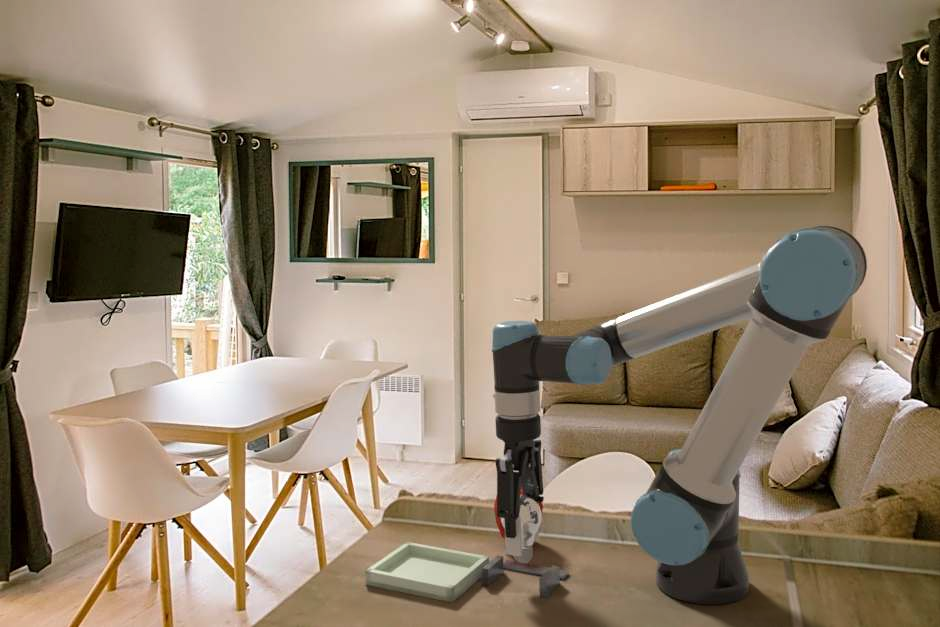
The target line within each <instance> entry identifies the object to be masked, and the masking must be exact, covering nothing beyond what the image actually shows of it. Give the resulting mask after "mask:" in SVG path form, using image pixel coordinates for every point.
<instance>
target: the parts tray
mask: <svg viewBox="0 0 940 627" xmlns="http://www.w3.org/2000/svg"><path fill="white" fill-rule="evenodd" d="M489 562H490V556H487V555H484V554H483V555H482V554H477V553H472V552H471V553H470V552H466V551H461V550H456V549H455V550H454V549H449V548H443V547H438V546H432V545H427V544H421V543H416V542H410V541H407V542H405V543H403V544H402V545H401V546H399V547H398V548H396V549H395V550H393V551H391V552H390V553H389V554H387V555H386V556H385V557H383V558H381V559H380V560H378V561H377V562H375V563H374V564H372V565H371V566H369V567H368V568H367V569H365V570H364V576H365V585H366V586H367V585H368V586H372V587H377V588H381V589H385V590H391V591H393V592H394V591H395V592H399V593H404V594H408V595H409V594H410V595H414V596H419V597H423V598H429V599H431V600H432V599H433V600H438V601H443V602H447V603H452V604H453V603H454V601H456V600H457V599H458V598H459V597H460V596H461V595H463V594H464V593H466V592H467V591H468V589H469V588H471V587H472V586H473V585H474V584H475V583H476V582H477V581H478V580H480V579H481V578H482V568H483V567H484V566H485V565H486V564H488V563H489Z"/></svg>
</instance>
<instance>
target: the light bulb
mask: <svg viewBox="0 0 940 627" xmlns="http://www.w3.org/2000/svg"><path fill="white" fill-rule="evenodd" d="M518 517H521V533H522V556H514V555H512V557H513V558H514V560H515V561H516V562H519V563H520V564H522V565H524V564H529V562H531V560H532V558H533V557H534V551H533V550H534V549H533V545H534V542H535V541H534V536H535V534H536V532H537V530H538V528H539V529H540V526H541V524H542V518H543V512H542V513H541V509H540V507H539V505H538V503H537V502H536V501H535V500H534V499H532V498H531V497H529V496H526V495H520V502H519V512H518ZM501 522H502V525H503V527H504V529H505V525H504V518H501Z"/></svg>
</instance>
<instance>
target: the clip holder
mask: <svg viewBox="0 0 940 627" xmlns="http://www.w3.org/2000/svg"><path fill="white" fill-rule="evenodd" d="M560 568H561V567H560V566H558V565H552V566H551V567H547V566H543V565H537V564H533V563H527V564H524V565H522V564H520V563H519V562H518V561H516V560H515V561H514V560H510V559H505V560H504V556H503V555H496V556H495V557H494V558H492V559H491V560H489V563H488V564H486V565H485V566H484V567H483V568H482V577H481V578H482V579H481V580H482V586H484V587H485V586H486V587H489V586H490V585H492V584H493V583H494V582H495V581H497V579H499V577H500V576H502V575H503V574H504V572H505V570H509V571H515V572H521V573H526V574H529V575H530V574H532V575H535V576H541V577H540V578H539V579H538V580H539V586H538V587H539V597H542V598H548V597H549V595H550V594H551V593H552V592H553V591H554V590H555V589H556V588H557V587H558V586H559V585H560V583H561V581H560V580H565V579H566V578H567V577H568V576H569V575H570V574H569V572H570V571H569V570H566V569H565V570H564V569H560Z"/></svg>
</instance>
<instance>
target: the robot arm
mask: <svg viewBox="0 0 940 627" xmlns="http://www.w3.org/2000/svg"><path fill="white" fill-rule="evenodd" d="M867 269H868V260H867V255H866V252H865V249H864V248H863V246H862V244H861V243H860V241H859V240H858V238H856V237H855V236H854V235H852V234H851V233H850V232H849V231H846V230H844V229H842V228H839V227H836V226H831V225H823V226H822V225H820V226H814V227H806V228H800V229H797V230H794V231H792V232H789V233H787V234H785V235H784V236H782V237H781V238H780V239H778V240H776V242H775V244H773V245H772V246H770V248H769V249H768V250H767V252H766V253H763V256H762V257H761V259H760V261H759V263H755V264H753V265H749V266H747V267H745V268H743V269H740V270H737V271H735V272H732V273H729V274H727V275H724V276H722V277H719V278H716V279H714V280H711V281H709V282H706V283H703V284H701V285H698V286H695V287H693V288H691V289H687V290H685V291H682V292H679V293H678V294H675V295H672V296H670V297H667V298H665V299H662V300H659V301H656V302H654V303H651V304H649V305H646V306H644V307H642V308H639V309H635V310H633V311H630V312H628V313H625V314H623V315H620V316H619V317H618V316H617V317H616V318H612V319H609V320H607V321H603V322H601V323H598V324H596V325H593V326H591V327H589V328H587V329H584V330H581V331H578V332H576V333H572V334H569V335H545V334H544V335H543V334H539V331H538V325H537V324H536V323H535V322H534V321H528V320H511V321H503V322H499V323H497V324H496V325H494V327H493V329H492V348H491V353H492V361H493V362H492V363H493V365H492V366H493V378H494V380H493V381H494V384H493V385H494V393H493V394H492V397H493V398H494V406H495V413H496V414H497V415H496V416H495V435H496V437H497V438H498V439H499V440H501V441H503V442H504V447H503V456H502V458H500V457H499V458H498V457H497V458H496V459H495V468H496V496H497V517H500V518H504V525H505V539H504V541H505V542H504V544H505V545H504V546H505V555H509V556H513V555H514V556H522V533H521V517H518V512H519V502H520V492H521V485H522V490H523V495H526V496H529V497H531V498H532V499H534V500H535V501H536V502H542V503H543V502H544V501H545V500H544V499H545V497H544V496H543V494H544V478H543V467H542V465H543V464H542V454H541V453H542V440H540V439H539V438H540V437H541V434H542V428H541V427H542V424H541V420H542V419H541V415H540V414H539V412H541V394H540V382H548V383H560V384H561V383H563V384H573V385H580V386H586V385H601V384H603V383H604V382H606V380H607V378H608V376H609V374H610V372H611V369H612V367H615V366H618V365H621V364H623V363H626V362H629V361H631V360H634V359H637V358H639V357H642V356H645V355H648V354H650V353H651V354H652V353H653V352H657V351H659V350H662V349H665V348H667V347H671V346H674V345H677V344H679V343H680V344H681V343H682V342H686V341H687V340H692V339H695V338H697V337H700V336H702V335H706V334H709V333H711V332H715V331H716V330H720V329H722V328H725V327H728V326H731V325H734V324H737V323H739V322H742V321H745V320H749V319H750V320H749V321H748V324H747V325H746V327H745V330H744V331H743V333H742V334H741V336H740V339H739V341H738V342H737V344H736V346H735V348H734V349H733V352H732V353H731V355H730V357H729V359H728V361H727V363H726V365H725V367H724V368H723V369H722V370H723V371H722V372H721V374H720V376H719V378H718V380H717V381H716V383H715V386H714V387H713V389H712V391H711V393H710V395H709V397H708V398H707V400H706V402H705V404H704V407H703V408H702V410H701V412H700V413H699V415H698V417H697V419H696V421H695V423H694V425H693V426H692V429H691V430H690V432H689V433H688V436H687V438H686V440H685V442H684V444H683V445H682V447H681V448H678V449H673V450H671V451H669V452H668V454H667V456H665V458H664V459H663V461H662V463H661V465H660V467H659V469H658V470H657V473H656V475H655V476H654V478H653V480H652V481H651V484H650V486H649V488H648V489H647V491H646V492H645V493H644V494H642V495H641V496H640V497H639V498H638V499H637V500H636V502H635V504H634V506H633V509H632V511H631V514H630V528H631V531H632V533H633V536H634V539H635V542H637V545H639V547H640V548H641V550H643V552H645V553H646V554H647V555H648V556H649V557H650V558H652V559H654V560H655V561H658V563H657V565H656V570H655V572H656V573H655V578H656V579H655V580H656V581H655V582H656V586H657V587H658V589H659V590H660V591H662V592H663V593H664V594H665V595H666V596H667V595H668V596H669V597H671V598H673V599H677V600H680V601H683V602H687V603H692V604H698V605H723V604H731V603H734V602H737V601H739V600H742V599H743V598H745V597H746V596H747V595H748V594H749V590H750V576H749V575H750V574H749V571H748V568H747V565H746V562H745V560H744V559H745V558H744V557H743V553H742V551H741V550H742V549H741V548H740V547H741V546H740V543H739V542H740V541H739V534H740V533H739V530H740V528H739V527H740V526H739V525H740V479H741V476H742V475H741V472H740V469H741V467H742V465H743V463H744V461H745V460H746V458H747V456H748V454H749V453H750V451H751V449H752V448H753V445H754V444H755V442H756V440H757V438H758V437H759V435H760V434H761V432H762V430H763V428H764V426H765V424H766V423H767V421H768V419H769V418H770V415H771V414H772V412H773V410H774V409H775V406H776V405H777V403H778V401H779V399H780V398H781V396H782V395H783V392H784V391H785V389H786V388H787V386H788V384H789V383H790V381H791V379H792V377H793V376H794V373H795V371H796V369H797V368H798V366H799V364H800V363H801V361H802V359H803V357H804V355H805V353H806V352H807V350H808V349H809V347H810V346H811V345H815V344H818V343H820V342H824V341H826V340H827V338H828V337H829V335H830V334H831V331H832V330H833V328H834V326H835V324H836V323H837V321H838V320H839V318H840V316H841V314H842V312H843V310H844V309H845V307H846V305H847V304H848V302H849V301H850V298H851V297H852V296H854V295H855V294H856V293H857V292H858V291H859V289H860V287H861V286H862V285H863V283H864V281H865V279H866V276H867ZM539 540H540V527H539V528H538V530H537V532H536V534H535V536H534V542H536V541H537V542H538V541H539Z"/></svg>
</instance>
